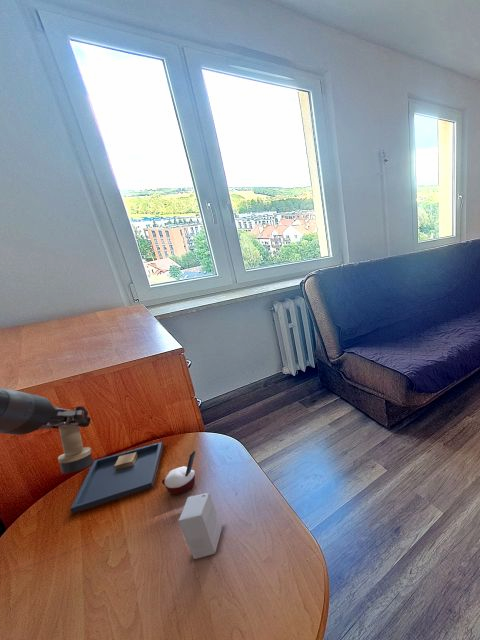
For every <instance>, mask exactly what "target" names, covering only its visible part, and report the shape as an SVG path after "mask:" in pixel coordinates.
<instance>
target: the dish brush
mask: <svg viewBox="0 0 480 640" xmlns="http://www.w3.org/2000/svg"><path fill="white" fill-rule="evenodd" d="M70 421H72V417H71V418H70ZM58 431H59V435H60V439H61V445H62V450H63V453H62V454H60V455H59V456H58V457H57V462H58V464H59V467H60V468H59V469H60V472H61V474H65V475H67V474H72V473H76V472H79V471H82V470H84V469H86V468H88V467H91V466H92V464H93V462H94V460H93V456H92V448H91V447H89V446H84V444H83V439H82V434H81V430H80V427H79V426H73V425H68V426H63V427H59V429H58Z"/></svg>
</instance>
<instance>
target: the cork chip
mask: <svg viewBox="0 0 480 640" xmlns="http://www.w3.org/2000/svg"><path fill="white" fill-rule="evenodd" d="M137 457H138V455H137V452H134V453H131V454H127V455H123V456H119V458H118V459H117V461H116V463H115V465H114V467H115V469H116V470H118V469H122V468H125V467H129V466H133V465H134V464H135V461H136V459H137Z"/></svg>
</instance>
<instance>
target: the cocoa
mask: <svg viewBox="0 0 480 640" xmlns="http://www.w3.org/2000/svg"><path fill="white" fill-rule="evenodd" d="M195 456H196V451H195V450H193V451H192V453H190V455H189V458H188V463H187V466H185V465H183V466H179V467H177V468H173V469H171V470H170V471H169V472H168V473H167V475H166V476H165V478H163V479H162V480H161V484H162V485H163V486H165V488H166V490H167V491H168V493H169V494H170V495H173V496H181V495H183V494H185V493H188V492H189V491H191V490H192V488H193V487H194V485H195V480H196V474H195V471H196V470H194V469H192V467H193V464H194V459H195Z"/></svg>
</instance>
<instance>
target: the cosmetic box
mask: <svg viewBox="0 0 480 640" xmlns="http://www.w3.org/2000/svg"><path fill="white" fill-rule="evenodd" d="M178 523H179V526H180V528H181V531H182V534H183V537H184V538H185V541H186V543H187V547H188V548H189V551H190V553H191V555H192V558H193V560H196V559H201V558H203V557H207V556H208V557H209V556H212V555H215V554H216V552H217V549H218V548H217V547H218V544H219V540H220V537H221V533H222V529H223V528H222V525H221V523H220V520H219V517H218V514H217V511H216V508H215V505H214V503H213V499H212V496H211V493H210V492H209V491H208V492H204V493H200V494H195V495H191V496H187V498H186V501H185V503H184V505H183V509H182V511H181V514H180V516H179V519H178Z"/></svg>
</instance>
